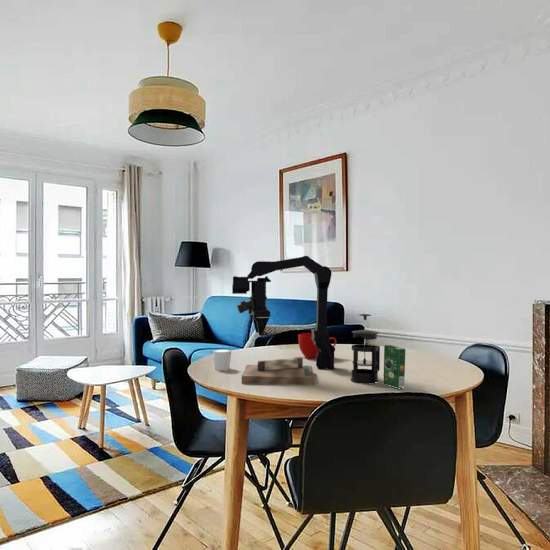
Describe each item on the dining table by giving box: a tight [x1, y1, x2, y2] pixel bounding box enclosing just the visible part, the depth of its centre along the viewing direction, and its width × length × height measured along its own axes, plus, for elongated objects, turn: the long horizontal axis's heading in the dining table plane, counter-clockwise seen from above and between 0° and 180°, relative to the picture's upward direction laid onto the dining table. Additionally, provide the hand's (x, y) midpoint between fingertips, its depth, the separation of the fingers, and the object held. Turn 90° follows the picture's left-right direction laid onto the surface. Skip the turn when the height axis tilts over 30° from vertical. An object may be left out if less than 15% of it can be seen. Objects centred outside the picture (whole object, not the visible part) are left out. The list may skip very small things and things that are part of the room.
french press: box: [350, 313, 381, 385], centre depth 162 cm, size 12×9×23 cm
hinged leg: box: [257, 356, 304, 371], centre depth 168 cm, size 18×3×3 cm, turn 118°
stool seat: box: [241, 364, 315, 386], centre depth 165 cm, size 24×20×4 cm
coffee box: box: [383, 344, 406, 388], centre depth 153 cm, size 8×3×13 cm, turn 23°
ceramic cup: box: [297, 332, 337, 360], centre depth 208 cm, size 13×17×10 cm
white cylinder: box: [212, 349, 232, 371], centre depth 179 cm, size 7×7×7 cm
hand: (258, 334), depth 182 cm, fingers open, 9 cm apart
